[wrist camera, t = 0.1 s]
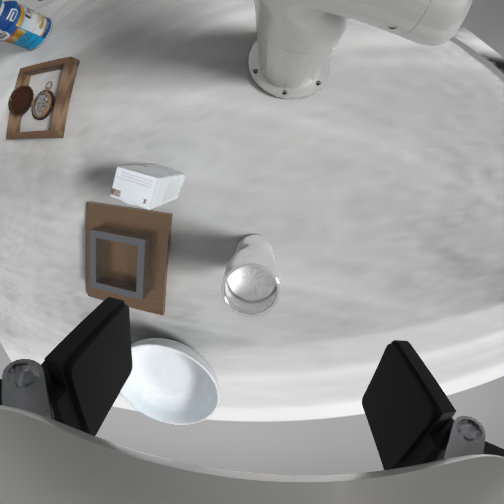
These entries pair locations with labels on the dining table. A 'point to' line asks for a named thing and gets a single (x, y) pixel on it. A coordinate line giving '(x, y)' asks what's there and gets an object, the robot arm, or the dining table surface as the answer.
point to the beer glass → (252, 278)
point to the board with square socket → (128, 255)
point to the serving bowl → (171, 382)
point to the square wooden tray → (61, 101)
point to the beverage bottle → (23, 25)
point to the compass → (31, 102)
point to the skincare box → (146, 185)
